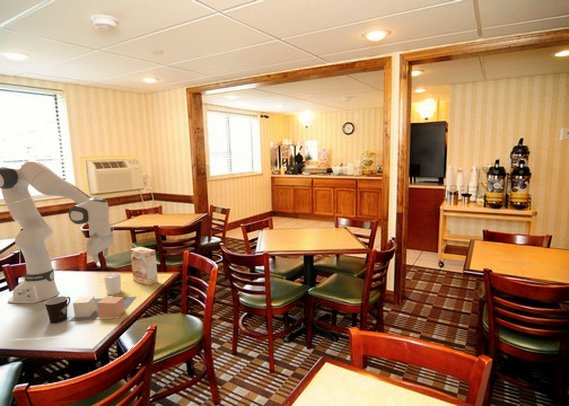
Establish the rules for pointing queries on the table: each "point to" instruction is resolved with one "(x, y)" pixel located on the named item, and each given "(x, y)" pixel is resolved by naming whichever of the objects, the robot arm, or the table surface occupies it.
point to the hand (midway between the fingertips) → (101, 258)
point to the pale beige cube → (84, 306)
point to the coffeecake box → (144, 265)
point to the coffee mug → (57, 309)
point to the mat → (96, 317)
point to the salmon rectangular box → (111, 307)
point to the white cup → (113, 283)
